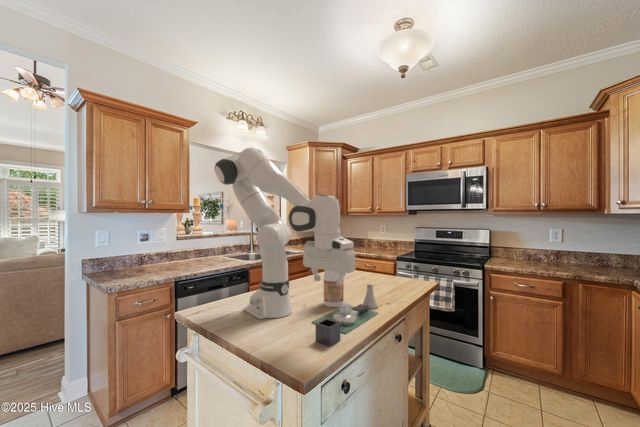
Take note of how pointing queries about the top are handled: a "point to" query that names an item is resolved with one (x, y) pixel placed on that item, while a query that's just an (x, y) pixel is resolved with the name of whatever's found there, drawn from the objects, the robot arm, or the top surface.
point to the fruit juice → (332, 289)
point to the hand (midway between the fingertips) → (328, 282)
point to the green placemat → (349, 316)
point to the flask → (370, 298)
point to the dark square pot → (328, 332)
